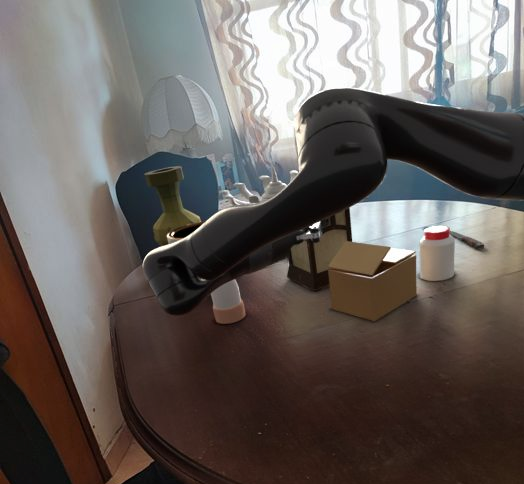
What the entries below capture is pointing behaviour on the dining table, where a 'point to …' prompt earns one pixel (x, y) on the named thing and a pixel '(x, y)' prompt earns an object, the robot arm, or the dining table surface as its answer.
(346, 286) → the carton
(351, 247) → the flap
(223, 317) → the pepper shaker
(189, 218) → the vase
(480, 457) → the dining table surface
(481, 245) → the knife
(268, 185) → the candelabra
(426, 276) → the pill bottle
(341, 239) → the lantern
